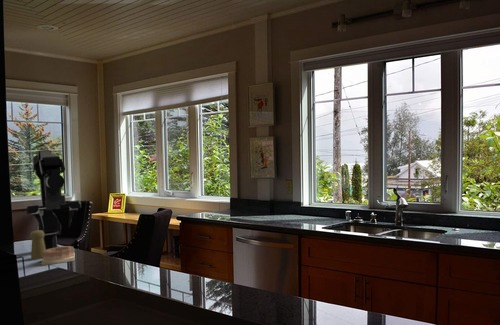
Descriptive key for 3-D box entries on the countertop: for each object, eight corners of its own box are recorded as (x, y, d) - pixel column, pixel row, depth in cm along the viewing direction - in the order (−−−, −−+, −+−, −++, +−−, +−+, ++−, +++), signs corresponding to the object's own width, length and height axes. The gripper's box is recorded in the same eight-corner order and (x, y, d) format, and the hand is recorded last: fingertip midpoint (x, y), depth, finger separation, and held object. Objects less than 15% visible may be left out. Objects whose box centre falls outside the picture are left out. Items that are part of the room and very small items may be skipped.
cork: (42, 259, 169) (40, 231, 168) (27, 260, 169) (25, 232, 169) (50, 255, 175) (48, 228, 175) (35, 256, 175) (33, 229, 175)
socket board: (44, 259, 167) (43, 248, 167) (75, 255, 171) (74, 244, 171) (42, 265, 157) (41, 254, 157) (74, 260, 161) (73, 249, 161)
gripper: (22, 192, 153) (26, 235, 153) (78, 187, 160) (82, 228, 160) (26, 190, 163) (30, 231, 164) (79, 186, 170) (82, 225, 170)
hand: (56, 229), depth 164 cm, fingers open, 9 cm apart
